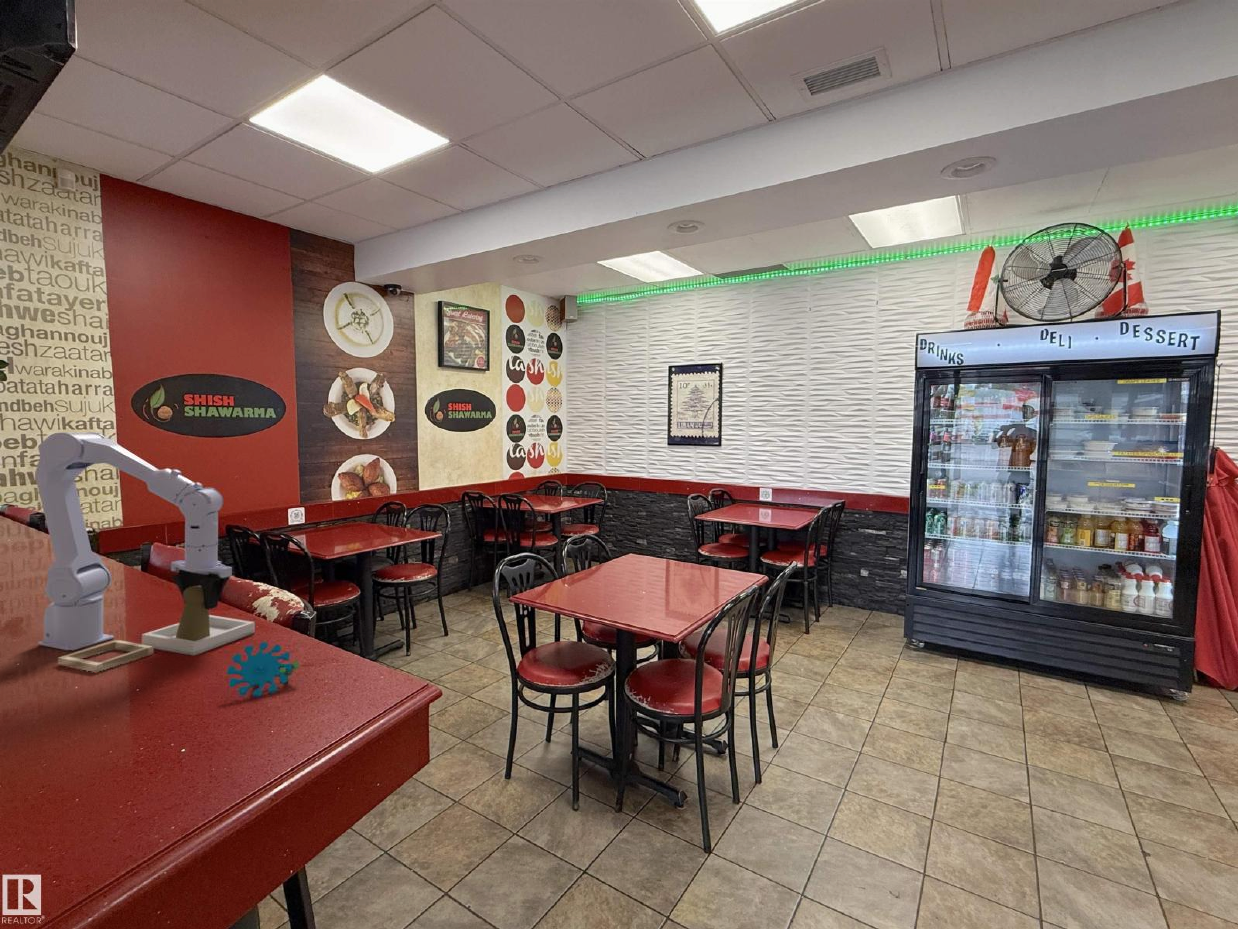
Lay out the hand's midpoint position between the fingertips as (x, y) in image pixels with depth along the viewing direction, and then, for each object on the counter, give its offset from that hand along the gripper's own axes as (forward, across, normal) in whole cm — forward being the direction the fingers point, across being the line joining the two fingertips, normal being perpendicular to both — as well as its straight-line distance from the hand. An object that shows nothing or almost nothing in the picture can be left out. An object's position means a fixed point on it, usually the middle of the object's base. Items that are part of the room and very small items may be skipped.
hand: (201, 606), depth 121 cm
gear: (+8, -31, +13) cm, 35 cm away
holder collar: (+7, +6, +14) cm, 17 cm away
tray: (+7, 0, 0) cm, 7 cm away
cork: (+7, 0, +2) cm, 7 cm away
